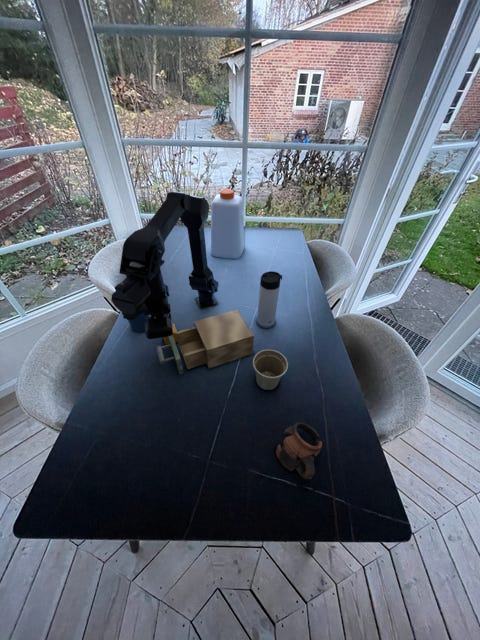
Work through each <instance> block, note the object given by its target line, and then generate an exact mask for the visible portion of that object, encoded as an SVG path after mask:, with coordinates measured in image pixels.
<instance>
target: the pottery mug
mask: <svg viewBox="0 0 480 640" xmlns="http://www.w3.org/2000/svg"><path fill="white" fill-rule="evenodd" d="M297 428H298V429H300V430H303V431H304V432H305V433H306V434H308V435H309V436H310V438H311V439H312V440H313V443H314V445H312V444H310V443H308V442H307V441H305V440H304V439H303V438H302V437H301V436H300V434H299V432H298V430H297ZM283 434H284V435H288V434H289V435H288V436H286V437H284V439H283V445H281V444H278V445H277V447H276V449H275V453H276V457H277V459H278V461H279V462H280V464H281V465H282V466H283V468H285V469H287V470H288V471H290V472H293V471H295V470H296V472H297V473H298V474H299V476H300V477H301V478H302V479H303V480H311V479H313V477H314V475H315V474H316V473H315V472H316V468H315V464H314V462H315V457H317V456H318V455H319V454H320V452H321V449H322V447H323V442H322V441H321V440H318V439H319V437H320V435H319V433H318V432H317V431H316V430H315V429H314V427H312V426H311V425H308V424H307V423H304V422H301V421H297V422H295V423H293V425H290V426H289V427H288V428H286V429H284V432H283ZM298 458H299V459H298Z"/></svg>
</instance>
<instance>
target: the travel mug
mask: <svg viewBox="0 0 480 640" xmlns="http://www.w3.org/2000/svg"><path fill="white" fill-rule="evenodd" d="M282 280H283V274H281V273H279V272H277V271H273V270H272V271H265V272H263V273H262V274H261V275H260V282H259V289H258V290H259V291H258V302H257V303H258V304H257V314H256V324H257V325H258V326H259V327H261V328H264V329H270V328H271V327H273V326H274V325H275V320H276V314H277V308H278V301H279V296H280V287H281V281H282Z"/></svg>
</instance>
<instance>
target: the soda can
mask: <svg viewBox="0 0 480 640" xmlns="http://www.w3.org/2000/svg"><path fill="white" fill-rule="evenodd" d="M148 317H151V315H144V312H143V313H142V314H140V315H138V318H136V319H133V320H131V321H128V320H127V321H128V324H129V327H130V328H131V329H132V330H134V331H135V332H145V323H146V322H147V321H148Z"/></svg>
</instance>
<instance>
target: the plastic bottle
mask: <svg viewBox="0 0 480 640" xmlns="http://www.w3.org/2000/svg"><path fill="white" fill-rule="evenodd" d="M210 204H211V205H210V206H211V207H210V210H211V211H210V254H211V255H212V256H213V257H216V258H221V259H222V258H223V259H228V260H229V259H231V260H235V259H239V258H241V257H242V255H243V252H244V250H245V225H244V224H245V223H244V202H243V197H242V196H241V195H237V194H235V191H234V189H230V188H224V189H220V191H219V194H216V196H215V197H214V198H213V199H212V200H211V203H210Z"/></svg>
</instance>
